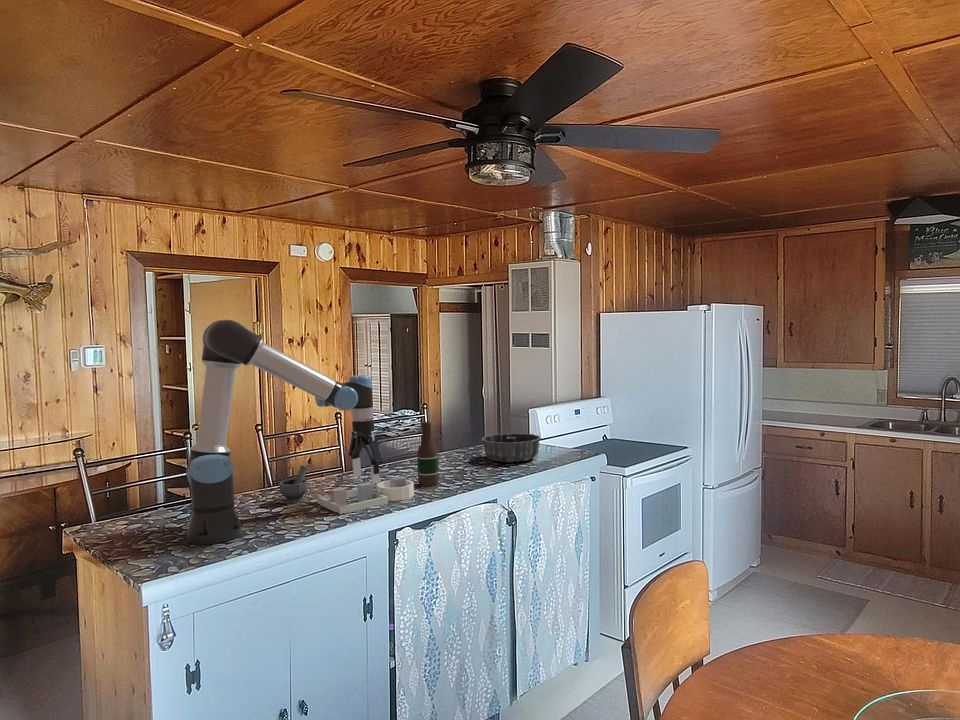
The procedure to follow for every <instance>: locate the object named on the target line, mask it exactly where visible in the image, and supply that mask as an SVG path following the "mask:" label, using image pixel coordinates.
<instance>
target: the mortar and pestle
mask: <svg viewBox="0 0 960 720" xmlns="http://www.w3.org/2000/svg"><path fill="white" fill-rule="evenodd" d="M308 470H309V467H308V466H307V465H302V464H301V465H300V466H299V471H298V473H297V475H296V478H293V479H292V478H290V479H286V480H282V481H280V482H279V484H278V486H279V491H280V494H281V495H282V496H283V497H284V498H285V499H284V502H285V503H286V504H291V503H293V504H299V503H302V502H303V501H304V495H305V494H306V493H307V491H308V487H309V480H307V479H305V478H306V477H305V476H306V473H307V471H308ZM301 501H302V502H301ZM298 502H299V503H298Z"/></svg>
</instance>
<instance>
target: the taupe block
mask: <svg viewBox="0 0 960 720" xmlns="http://www.w3.org/2000/svg"><path fill="white" fill-rule="evenodd" d="M346 491H347V488H344V487H342V486H341V487H336V488H332V489H331V488H330V489H329V494H330V501H332V502H334V503H336V504H338V505H340V506H343V505H348V500H347V499H348V498H347V494H346Z"/></svg>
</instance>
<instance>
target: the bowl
mask: <svg viewBox="0 0 960 720" xmlns="http://www.w3.org/2000/svg"><path fill="white" fill-rule="evenodd" d="M376 493H379V494H382V495H384V496H387V497H388V502H400V501H399V500H402V501H406V500H410V499H412V498H414V497H415V483H414V481H412V480H410V479H406V486H403V487H396V488H390V479H388V480H384V481H380V483H376ZM413 496H414V497H413ZM411 497H412V498H411ZM409 498H410V499H409ZM405 499H406V500H405Z"/></svg>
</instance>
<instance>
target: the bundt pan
mask: <svg viewBox="0 0 960 720" xmlns="http://www.w3.org/2000/svg"><path fill="white" fill-rule="evenodd" d="M540 440H541V436H540V435H536V434H534V433H533V434H531V433H518V432H517V433H515V432H512V433H511V432H510V433H499V434H498V433H497V434H490V435H485V436H484V437H482V438H481V441H482V442H483V449H484V453H485V456H486V457H487V458H488V460H490V461H493V460H494V462H500V463H505V462H506V463H513V462H515V463H519V462H526V461H531V460H533V459H534V458H535V457H536V456H537V455H538V453H539V446H540Z"/></svg>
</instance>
